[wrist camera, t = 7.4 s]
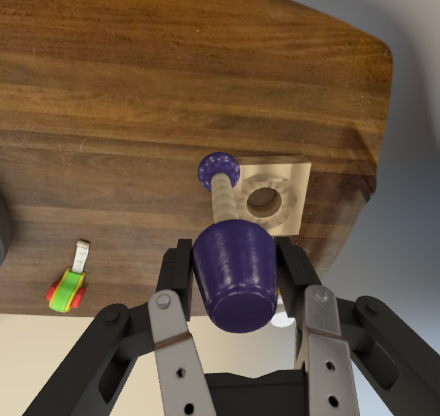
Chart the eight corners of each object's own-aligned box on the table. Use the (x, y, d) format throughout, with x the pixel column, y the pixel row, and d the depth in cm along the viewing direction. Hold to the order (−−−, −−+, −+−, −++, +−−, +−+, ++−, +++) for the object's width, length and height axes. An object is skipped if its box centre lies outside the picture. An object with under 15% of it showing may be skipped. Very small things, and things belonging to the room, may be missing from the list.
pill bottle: (288, 270, 56) (305, 312, 47) (277, 288, 59) (290, 331, 50) (263, 264, 55) (275, 307, 45) (253, 283, 58) (262, 327, 48)
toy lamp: (202, 142, 23) (193, 270, 9) (250, 150, 24) (314, 283, 9) (195, 187, 26) (178, 347, 11) (238, 194, 26) (276, 354, 12)
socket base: (303, 154, 42) (311, 163, 39) (292, 222, 49) (298, 234, 46) (221, 157, 42) (222, 165, 38) (222, 225, 49) (223, 237, 46)
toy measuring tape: (53, 295, 57) (37, 321, 52) (69, 234, 49) (51, 257, 43) (82, 303, 59) (69, 328, 53) (102, 245, 50) (88, 268, 45)
